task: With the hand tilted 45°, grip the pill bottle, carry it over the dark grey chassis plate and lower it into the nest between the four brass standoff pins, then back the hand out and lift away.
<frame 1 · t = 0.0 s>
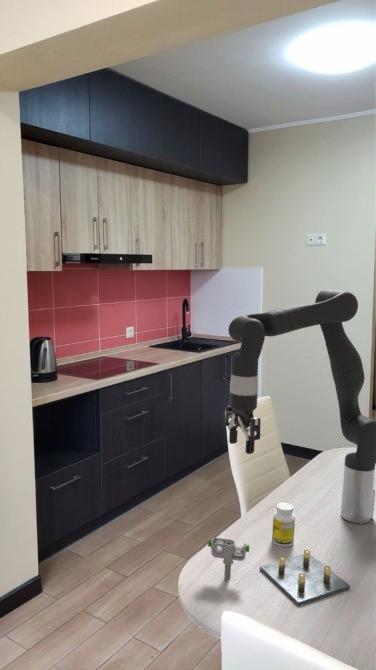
hand: (241, 448, 144), 29 cm above the table, tool pointing down, fingers open, 8 cm apart
pill bottle: (282, 542, 152), on the table
mechanical component: (227, 579, 133), on the table
chassis plate: (303, 579, 134), on the table
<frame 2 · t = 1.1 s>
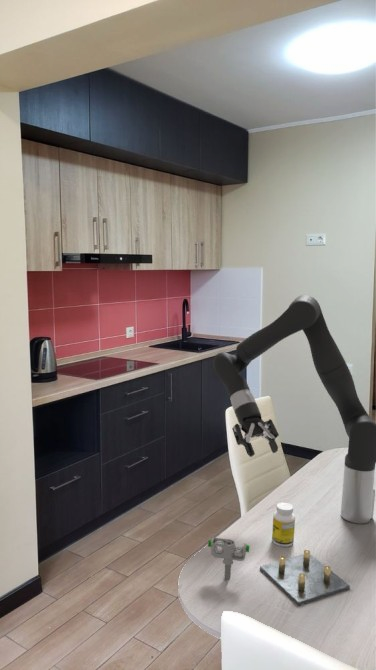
hand: (264, 453, 158), 23 cm above the table, tool tilted 45°, fingers open, 8 cm apart
nothing on the table moved.
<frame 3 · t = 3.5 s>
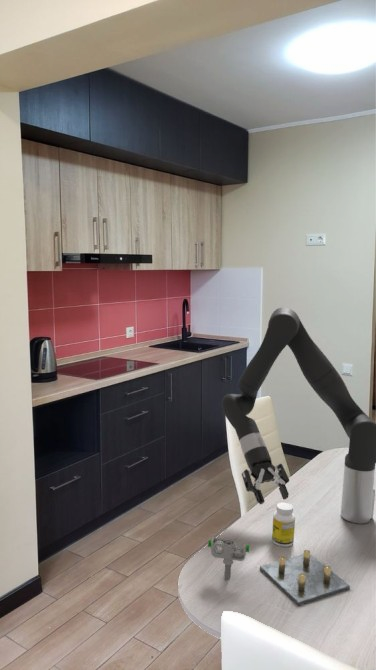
hand: (274, 500, 154), 10 cm above the table, tool tilted 45°, fingers open, 8 cm apart
nothing on the table moved.
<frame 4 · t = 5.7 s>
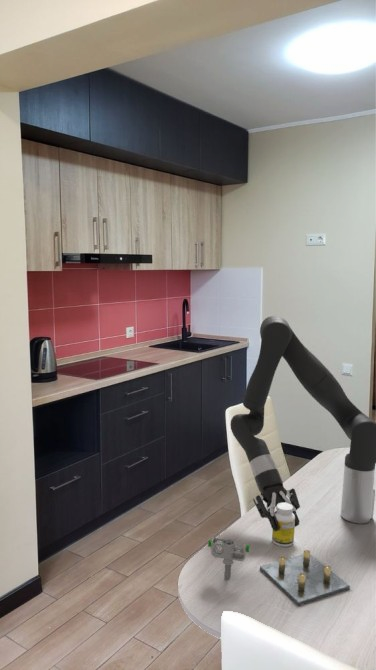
hand: (287, 527, 149), 5 cm above the table, tool tilted 45°, fingers closed on pill bottle, 6 cm apart
pill bottle: (282, 542, 152), on the table, touching gripper
everything else where it was.
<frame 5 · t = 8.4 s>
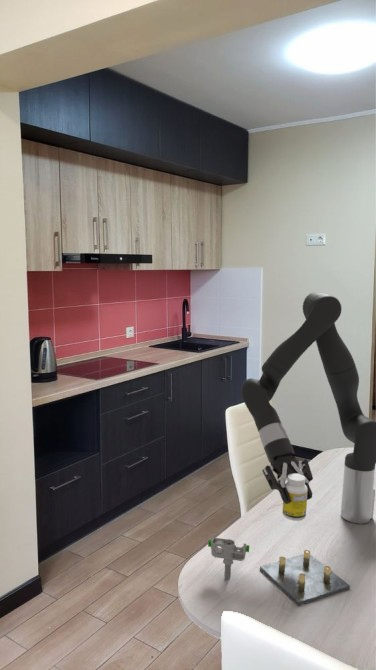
hand: (299, 500, 138), 18 cm above the table, tool tilted 45°, fingers closed on pill bottle, 6 cm apart
pill bottle: (293, 516, 140), point 13 cm above the table, touching gripper
everything else where it was.
when the fingers open (7 cm above the table, at t = 11.5 s): pill bottle drops 1 cm, resting on chassis plate.
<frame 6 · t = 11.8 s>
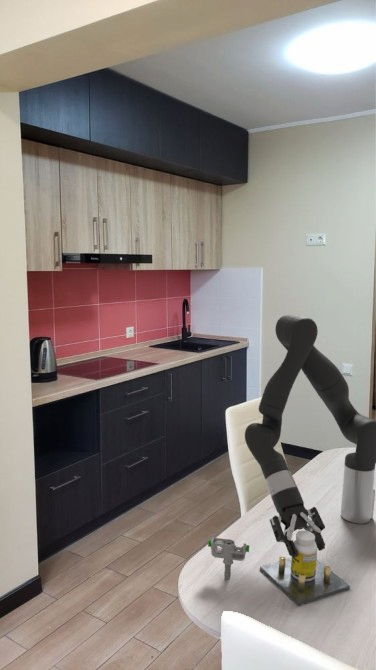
hand: (309, 553, 132), 8 cm above the table, tool tilted 45°, fingers open, 8 cm apart
pill bottle: (302, 575, 134), point 1 cm above the table, touching chassis plate
everything else where it was.
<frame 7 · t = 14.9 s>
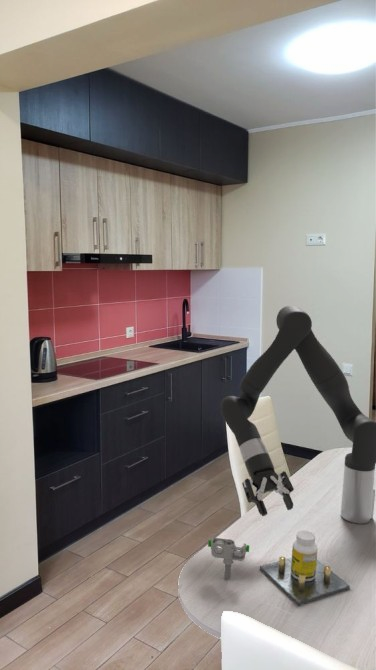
hand: (278, 512, 143), 12 cm above the table, tool tilted 45°, fingers open, 8 cm apart
nothing on the table moved.
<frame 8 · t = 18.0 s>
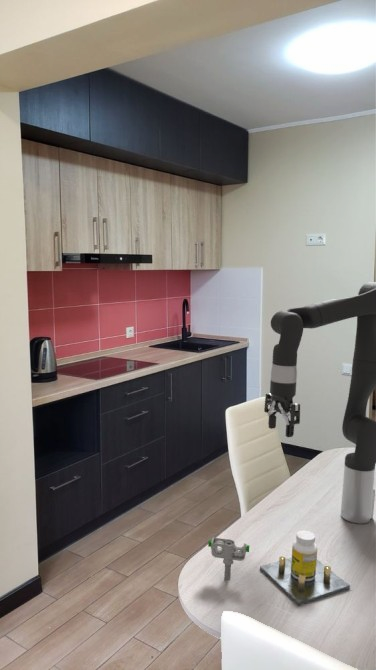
hand: (280, 432, 156), 30 cm above the table, tool pointing down, fingers open, 8 cm apart
nothing on the table moved.
at the end: pill bottle 0.2 cm off-centre on the chassis plate, point 0.8 cm above the chassis plate's base; pill bottle tilted 0°; the gripper is holding nothing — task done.
